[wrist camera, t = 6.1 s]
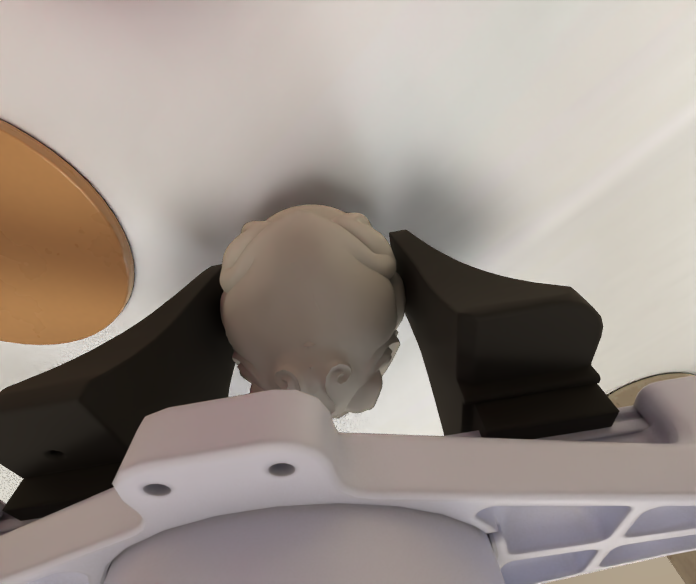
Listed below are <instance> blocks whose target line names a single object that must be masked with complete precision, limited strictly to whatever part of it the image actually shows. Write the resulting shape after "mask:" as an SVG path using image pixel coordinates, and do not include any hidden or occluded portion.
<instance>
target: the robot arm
mask: <svg viewBox="0 0 696 584" xmlns="http://www.w3.org/2000/svg"><path fill="white" fill-rule="evenodd" d="M389 237H390V246H391V249H392V251H393V254H394V257H395V259H396V273H398V274H399V276H400V277H401V278H402V281H403V284H404V289H405V296H406V305H405V314H406V316H407V319H408V321H409V323H410V326H411V328H412V330H413V333H414V335H415V338H416V340H417V342H418V345H419V348H420V350H421V353H422V356H423V360H424V363H425V367H426V370H427V374H428V377H429V381H430V384H431V388H432V391H433V395H434V398H435V402H436V406H437V410H438V413H439V417H440V421H441V424H442V428H443V432H444V436H425V435H397V434H370V433H342V432H338V431H337V429H336V427H335V425H334V422H333V420H332V417H331V414H330V411H329V410H328V409H327V408H326V407H325V406H324V404H323V403H322V402H321V401H320V400H319V399H318V398H316V397H314V396H312V395H309V394H306V393H303V392H301V391H298V390H268V391H262V392H256V393H250V394H244V395H238V396H233V397H228V394H229V387H230V382H231V377H232V374H233V370H234V366H235V362H234V361H233V359H232V356H233V353H234V351H235V350H234V349H233V347H232V345H231V344H230V343H229V340H228V337H227V336H226V331H225V328H224V325H223V323H222V320H221V314H220V300H221V296H222V293H223V291H224V290H223V289H222V287H221V285H220V274H221V269H222V264H221V265H216V266H211V267H210V268H208V269H206V270H205V271H204V272H202V273H201V274H200V275H199V276H197V277H196V278H195V279H194V280H193V281H191V282H190V283H189V284H188V285H187V286H185V287H184V288H183V289H182V290H181V291H179V292H178V293H177V294H176V295H175V296H173V297H172V298H171V299H170V300H168V301H167V302H166V303H164V304H163V305H162V306H161V307H159V308H158V309H157V310H155V311H154V312H153V313H152V314H150V315H149V316H147V317H146V318H145V319H143V320H142V321H140V322H139V323H137V324H136V325H134V326H133V327H131V328H129V329H128V330H126V331H125V332H123V333H121V334H120V335H118V336H116V337H114V338H113V339H111V340H109V341H107V342H106V343H104V344H102V345H100V346H98V347H97V348H95V349H93V350H91V351H89V352H87V353H85V354H83V355H81V356H79V357H77V358H75V359H73V360H71V361H69V362H66V363H64V364H62V365H60V366H58V367H55V368H53V369H51V370H49V371H46V372H44V373H41V374H39V375H36V376H34V377H31V378H29V379H27V380H24V381H22V382H19V383H17V384H14V385H12V386H9V387H6V388H5V389H3V390H2V391H1V392H0V464H1V465H3V466H4V467H6V468H8V469H9V470H11V471H12V472H14V473H15V474H17V475H19V476H20V477H22V478H24V479H23V480H22V482H21V483H20V485H19V486H18V488H17V489H16V491H15V492H14V494H13V495H12V496H11V498H10V499H9V501H8V502H7V504H6V503H4V502H3V501H1V500H0V584H544V583H548V582H553V581H557V580H562V579H566V578H570V577H575V576H579V575H583V574H587V573H592V572H596V571H600V570H605V569H609V568H614V567H618V566H622V565H627V564H631V563H636V562H640V561H645V560H650V559H654V558H659V557H664V556H669V555H674V554H679V553H684V552H690V551H695V550H696V375H692V376H686V377H680V378H674V379H668V380H662V381H657V382H653V383H650V384H648V385H646V386H645V387H643V388H642V389H641V390H640V391H639V392H638V394H637V396H636V398H635V402H634V405H632V406H626V407H620V408H617V407H616V406H615V405H614V404H613V402H612V401H611V400H610V399H609V397H608V396H607V395H606V394H605V393H604V391H603V390H602V389H601V388H600V387H599V385H598V384H597V383H599V382H600V375H599V374H598V373H597V372H596V371H595V369H594V368H593V367H592V366H591V362H592V359H593V357H594V354H595V351H596V349H597V346H598V344H599V341H600V338H601V335H602V330H603V323H602V319H601V316H600V315H599V314H598V312H597V311H596V310H595V309H594V308H593V307H592V306H591V305H590V304H589V303H588V302H587V301H586V300H585V299H584V298H583V297H582V296H581V295H579V294H578V293H577V292H576V291H575V290H574V289H573V288H571V287H568V286H560V285H551V284H542V283H534V282H528V281H523V280H518V279H513V278H508V277H504V276H500V275H496V274H493V273H489V272H486V271H483V270H480V269H477V268H474V267H472V266H469V265H467V264H464V263H462V262H459V261H457V260H455V259H453V258H451V257H449V256H447V255H445V254H443V253H441V252H440V251H438V250H436V249H434V248H433V247H431V246H430V245H428V244H426V243H425V242H423V241H422V240H420V239H419V238H417V237H416V236H415V235H413V234H412V233H410V232H409V231H407V230H400V231H395V232H390V233H389Z"/></svg>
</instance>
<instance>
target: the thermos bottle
mask: <svg viewBox="0 0 696 584" xmlns="http://www.w3.org/2000/svg"><path fill="white" fill-rule="evenodd" d="M686 376H692V375H691V374H683V373H674V374H664V375H658V376H654V377H650V378H646V379H643V380H640V381H637V382H635V383H632V384H629V385H627V386H625V387H623V388H621V389H619V390H617V391H615V392H614V393H612V394H610V395H609V396H608V397H609V399H610V400H611V401H612V402H613V404H614V405H615V406H616V407H617V408H620V407H626V406H632V405H634V402H635V398H636V396H637V394H638V392H639V391H640V390H641V389H642V388H643V387H645V386H646V385H648V384H650V383H653V382H657V381H662V380H668V379H674V378H680V377H686ZM667 558H668V559H669V560H670V562H671V563H672V565H673V566H674V568H675V569H676V571H677V572H678V573H679V575H680V576H681V578H682V579H683V581H684V582H685V584H696V550H695V551H690V552H684V553H679V554H674V555H669V556H667Z"/></svg>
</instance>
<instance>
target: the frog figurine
mask: <svg viewBox="0 0 696 584" xmlns="http://www.w3.org/2000/svg"><path fill="white" fill-rule="evenodd" d="M220 285H221V287H222V289H223V290H224V291H223V293H222V296H221V300H220V314H221V320H222V323H223V325H224V328H225V331H226V336H227V337H228V340H229V343H230V344H231V345H232V347H233V349H234V350H235V351H234V353H233V356H232V359H233V361H234V362H235V363H236V364H237V365H238V366H237V367H238V369H239V370H240V375H241V376H242V377H243V378H244V379H246V380H247V381H249V382H250V383H252V385H251V389H250V393H256V392H262V391H268V390H298V391H301V392H303V393H306V394H309V395H312V396H314V397H316V398H318V399H319V400H320V401H321V402H322V403H323V404H324V406H325V407H326V408H327V409H328V410H329V411H330V414H331V417H332V419H333V418H338V419H339V418H340V417H342V416H344V415H345V414H347V413H348V412H352V413H361V412H364V411H366V410H371V409H372V408H373V407H374V406H375V404H376V401H377V399H378V397H379V394H380V392H381V389H382V384H383V383H382V375H383V374H384V373H385V371H386V370H387V368H388V367H389V365H390V364H391V362H392V360H393V358H394V356H395V354H396V352H397V350H398V348H399V346H400V342H399V339H398V338H397V334H398V331H397V330H396V329H397V328H398V326H399V324H400V323H401V321H402V319H403V317H404V313H405V305H406V296H405V289H404V284H403V281H402V278H401V277H400V276H399V274H398V273H396V259H395V257H394V254H393V251H392V249H391V247H390V245H389V243H388V242H387V240H386V239H385V237H384V236H383V235H382V234H381V233H379V232H378V231H376V230H375V229H373V228H372V226H371V224H370V222H369V220H368V219H367V218H366V217H365V216H364V215H363V214H360V213H345V212H343V211H341V210H338V209H336V208H333V207H329V206H324V205H317V204H310V205H300V206H294V207H290V208H287V209H285V210H282V211H280V212H278V213H276V214H274V215H273V216H271V217H270V218H268V219H267V220H266V221H251V222H248V223H246V224H245V225H244V226H243V228H242V230H241V234H240V235H239V236H237V237H236V238H235V239H234V240H233V241H232V242H231V244H230V245H229V246H228V247H227V249H226V251H225V253H224V256H223V263H222V269H221V274H220Z"/></svg>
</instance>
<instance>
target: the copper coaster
mask: <svg viewBox="0 0 696 584" xmlns="http://www.w3.org/2000/svg"><path fill="white" fill-rule="evenodd" d="M133 283H134V264H133V258H132V254H131V250H130V246H129V244H128V241H127V239H126V236H125V234H124V231H123V229H122V228H121V226H120V224H119V222H118V220H117V219H116V217H115V215H114V214H113V212H112V211H111V210H110V208H109V207H108V205H107V204H106V203H105V201H104V200H103V199H102V197H101V196H100V195H99V194H98V193H97V192H96V191H95V189H94V188H93V187H92V186H91V185H90V184H89V183H88V182H87V181H86V180H85V179H84V178H83V177H82V176H81V175H80V174H79V173H78V172H77V171H76V170H75V169H74V168H73V167H72V166H70V165H69V164H68V163H67V162H65V161H64V160H63V159H62V158H61V157H59V156H58V155H57V154H56V153H54V152H53V151H52V150H50V149H49V148H47V147H46V146H44V145H43V144H41V143H40V142H38V141H37V140H36V139H34V138H33V137H31V136H29V135H28V134H26V133H24V132H22V131H21V130H19V129H17V128H15V127H14V126H12V125H10V124H8V123H6V122H4V121H2V120H0V341H5V342H12V343H20V344H33V345H49V344H61V343H69V342H73V341H77V340H81V339H84V338H86V337H89V336H92V335H94V334H96V333H98V332H99V331H101V330H103V329H105V328H106V327H107V326H108V325H109V324H111V323H112V322H113V321H114V320H115V319H116V317H117V316H118V315H119V314H120V313H121V311H122V310H123V309H124V307H125V305H126V304H127V302H128V300H129V298H130V295H131V292H132V289H133Z"/></svg>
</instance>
